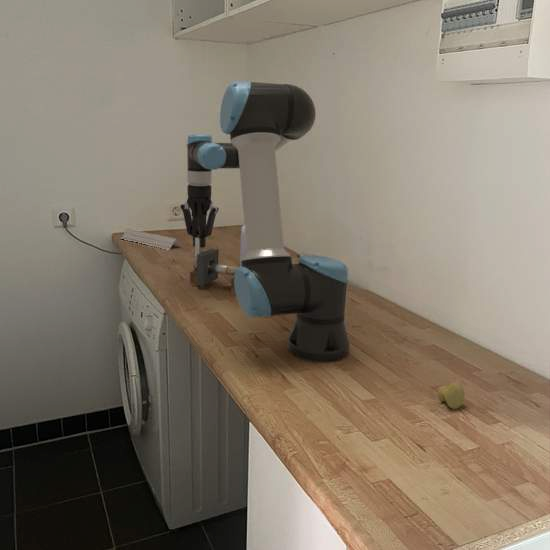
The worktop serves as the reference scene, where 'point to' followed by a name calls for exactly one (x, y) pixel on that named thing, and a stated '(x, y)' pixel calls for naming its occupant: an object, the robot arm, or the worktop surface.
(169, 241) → the corner bead
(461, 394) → the knob
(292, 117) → the robot arm
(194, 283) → the saddles
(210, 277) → the collar
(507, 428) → the worktop surface
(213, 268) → the pipe
